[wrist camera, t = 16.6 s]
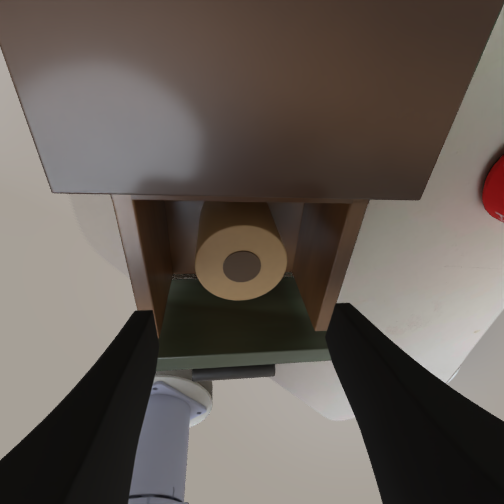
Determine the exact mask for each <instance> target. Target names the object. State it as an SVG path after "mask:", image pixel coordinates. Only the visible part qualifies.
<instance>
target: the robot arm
mask: <svg viewBox="0 0 504 504" xmlns="http://www.w3.org/2000/svg"><path fill="white" fill-rule="evenodd" d="M325 339H326V343H327V347H328V350H329V354H330V357H331V360H332V363H333V365H334V368H335V370H336V373H337V375H338V377H339V380H340V382H341V384H342V387H343V389H344V391H345V394H346V396H347V398H348V401H349V403H350V405H351V408H352V410H353V412H354V415H355V417H356V420H357V422H358V425H359V428H360V430H361V433H362V436H363V439H364V443H365V446H366V449H367V452H368V455H369V458H370V461H371V464H372V468H373V471H374V475H375V478H376V481H377V485H378V488H379V492H380V495H381V499H382V502H383V504H504V421H502V420H501V419H499V418H497V417H496V416H494V415H492V414H491V413H489V412H487V411H486V410H484V409H483V408H481V407H479V406H478V405H476V404H475V403H473V402H471V401H470V400H469V399H467V398H466V397H464V396H463V395H461V394H460V393H458V392H457V391H455V390H454V389H452V388H451V387H450V386H448V385H447V384H446V383H444V382H443V381H441V380H440V379H439V378H437V377H436V376H434V375H433V374H432V373H430V372H429V371H428V370H426V369H425V368H424V367H423V366H421V365H420V364H419V363H418V362H416V361H415V360H414V359H413V358H411V357H410V356H409V355H408V354H406V353H405V352H404V351H403V350H402V349H400V348H399V347H398V346H397V345H396V344H395V343H393V342H392V341H391V340H390V339H389V338H388V337H387V336H385V335H384V334H383V333H382V332H381V331H380V330H379V329H378V328H377V327H375V326H374V325H373V324H372V323H371V322H370V321H369V320H368V319H367V318H366V317H365V316H363V315H362V314H361V313H360V312H359V311H358V310H357V309H356V308H355V307H354V306H352V305H351V304H350V303H336V304H335V306H334V310H333V313H332V316H331V319H330V323H329V326H328V329H327V332H326V335H325ZM158 353H159V341H158V336H157V330H156V325H155V320H154V314H153V310H138V311H135V312H134V313H133V314H132V315H131V317H130V318H129V320H128V321H127V322H126V324H125V325H124V327H123V328H122V329H121V331H120V332H119V334H118V335H117V336H116V337H115V339H114V340H113V341H112V343H111V344H110V345H109V347H108V348H107V349H106V350H105V352H104V353H103V354H102V355H101V357H100V358H99V359H98V360H97V362H96V363H95V364H94V365H93V366H92V368H91V369H90V370H89V371H88V372H87V373H86V375H85V376H84V377H83V378H82V379H81V380H80V381H79V383H78V384H77V385H76V386H75V387H74V388H73V389H72V390H71V392H70V393H69V394H68V395H67V396H66V397H65V398H64V399H63V400H62V401H61V402H60V403H59V405H58V406H57V407H55V409H54V410H53V411H52V412H51V413H50V414H49V415H48V416H47V417H46V418H45V419H44V420H43V421H42V422H41V423H40V424H39V425H37V426H36V427H35V428H34V429H33V430H32V431H31V432H30V433H29V434H28V435H27V436H26V437H25V438H24V439H23V440H22V441H21V442H20V443H19V444H18V445H17V446H15V447H14V448H13V449H12V450H11V451H10V452H9V453H8V454H7V455H6V456H4V457H3V458H2V459H1V460H0V504H189V503H187V502H184V491H185V479H186V466H187V452H188V438H189V425H190V420H191V419H193V418H195V417H197V416H199V415H201V414H204V413H205V412H206V411H207V408H206V407H205V406H204V405H202V404H200V403H198V402H197V401H195V400H193V399H192V398H190V397H188V396H186V395H185V394H183V393H181V392H180V391H178V390H176V389H175V388H173V387H171V386H169V385H168V384H166V383H164V382H162V381H157V382H155V383H153V382H154V378H155V373H156V367H157V360H158Z"/></svg>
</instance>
